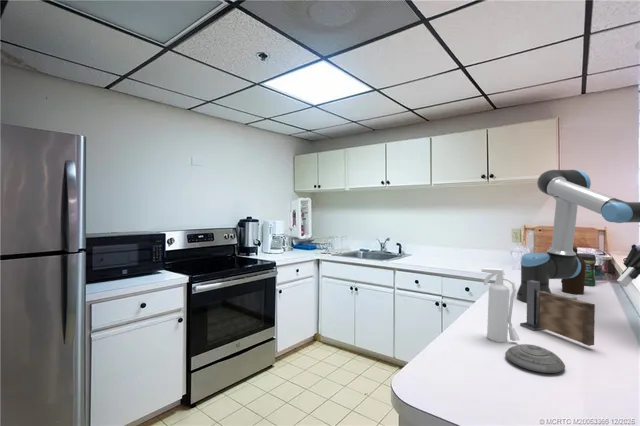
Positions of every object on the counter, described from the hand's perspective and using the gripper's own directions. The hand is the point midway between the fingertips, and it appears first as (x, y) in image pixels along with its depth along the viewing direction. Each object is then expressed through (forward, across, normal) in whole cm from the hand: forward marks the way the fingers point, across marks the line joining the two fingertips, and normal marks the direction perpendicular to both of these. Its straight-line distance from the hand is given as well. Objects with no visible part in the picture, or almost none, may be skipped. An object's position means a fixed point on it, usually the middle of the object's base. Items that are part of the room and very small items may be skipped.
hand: (621, 283), depth 111 cm
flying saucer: (+43, -11, +13) cm, 46 cm away
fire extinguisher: (+42, +6, +13) cm, 44 cm away
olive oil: (-13, +64, -41) cm, 77 cm away
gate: (+25, +5, -2) cm, 26 cm away
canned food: (+16, +22, -13) cm, 30 cm away
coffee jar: (-28, +80, -56) cm, 102 cm away
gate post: (+28, +16, -1) cm, 32 cm away
